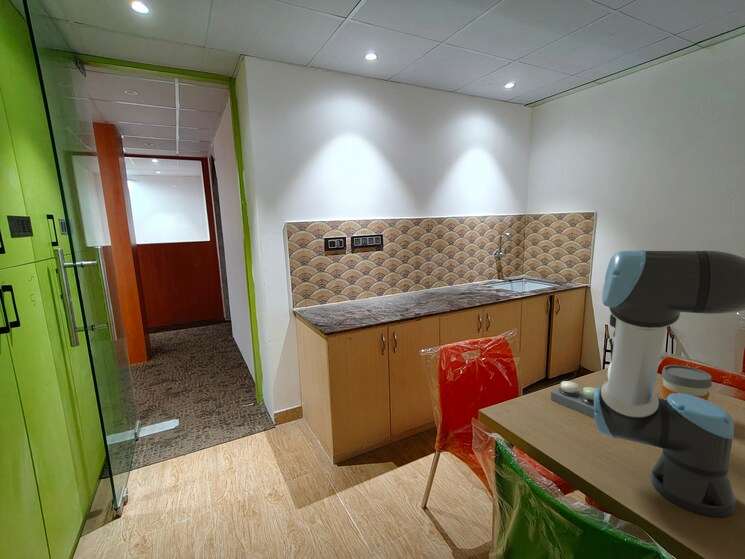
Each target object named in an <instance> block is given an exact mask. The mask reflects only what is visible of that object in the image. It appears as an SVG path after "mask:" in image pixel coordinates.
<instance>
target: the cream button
mask: <svg viewBox="0 0 745 559" xmlns="http://www.w3.org/2000/svg"><path fill="white" fill-rule="evenodd" d="M560 388H561V389H562V390H563V391H565V392H568V393H577V392H578V390H579V384H578V383H576V382H574V381H570V380H563V381H561V382H560Z"/></svg>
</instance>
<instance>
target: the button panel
mask: <svg viewBox="0 0 745 559" xmlns="http://www.w3.org/2000/svg"><path fill="white" fill-rule="evenodd" d="M550 400H551V401H553V400H554V401H553V402H555V401H556V402H555V403H558V402H559V403H558V404H560V403H561V405H563V406H565V407H567V408H570V409H573V410H575V411H578V412H580V413H582V414H585V415H587V416H589V417H592V418H593V419H595V412H594V400H593V399H589V398H587V397H585V396H584V395H583V390H581V389H578V392H577V393H568V392H565V391H563V390H562V389H561V387H559V388H557V389H555V390H552V391H551V392H550Z"/></svg>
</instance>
